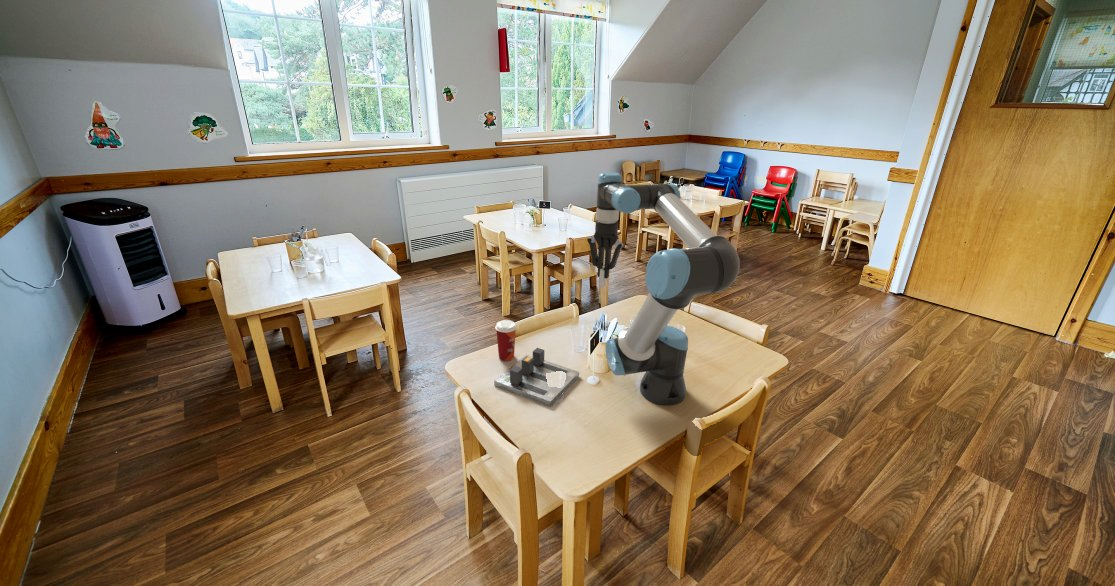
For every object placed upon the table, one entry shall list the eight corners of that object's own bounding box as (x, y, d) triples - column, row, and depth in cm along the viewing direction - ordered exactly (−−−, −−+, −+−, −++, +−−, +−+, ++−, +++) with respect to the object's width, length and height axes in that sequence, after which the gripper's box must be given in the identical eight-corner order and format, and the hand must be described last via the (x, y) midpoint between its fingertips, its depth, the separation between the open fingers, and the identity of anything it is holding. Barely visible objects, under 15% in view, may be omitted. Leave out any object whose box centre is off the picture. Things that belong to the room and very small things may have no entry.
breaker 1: (522, 381, 158) (522, 368, 156) (517, 385, 156) (517, 372, 154) (515, 378, 160) (515, 365, 158) (510, 382, 157) (509, 369, 155)
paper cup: (515, 363, 172) (515, 329, 167) (494, 362, 172) (493, 328, 167) (517, 352, 180) (517, 319, 174) (497, 351, 180) (496, 318, 174)
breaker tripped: (533, 371, 164) (533, 358, 162) (528, 375, 161) (529, 362, 159) (526, 368, 165) (526, 355, 163) (521, 372, 163) (521, 359, 161)
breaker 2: (544, 361, 169) (544, 349, 167) (539, 365, 167) (539, 353, 165) (537, 359, 171) (537, 347, 169) (532, 363, 168) (532, 351, 166)
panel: (579, 376, 166) (579, 371, 165) (550, 406, 150) (550, 401, 149) (526, 358, 175) (526, 354, 174) (494, 385, 159) (494, 380, 158)
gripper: (629, 221, 156) (623, 286, 166) (594, 215, 162) (590, 278, 172) (620, 226, 150) (615, 293, 160) (584, 219, 156) (581, 285, 166)
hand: (602, 285), depth 166 cm, fingers closed
